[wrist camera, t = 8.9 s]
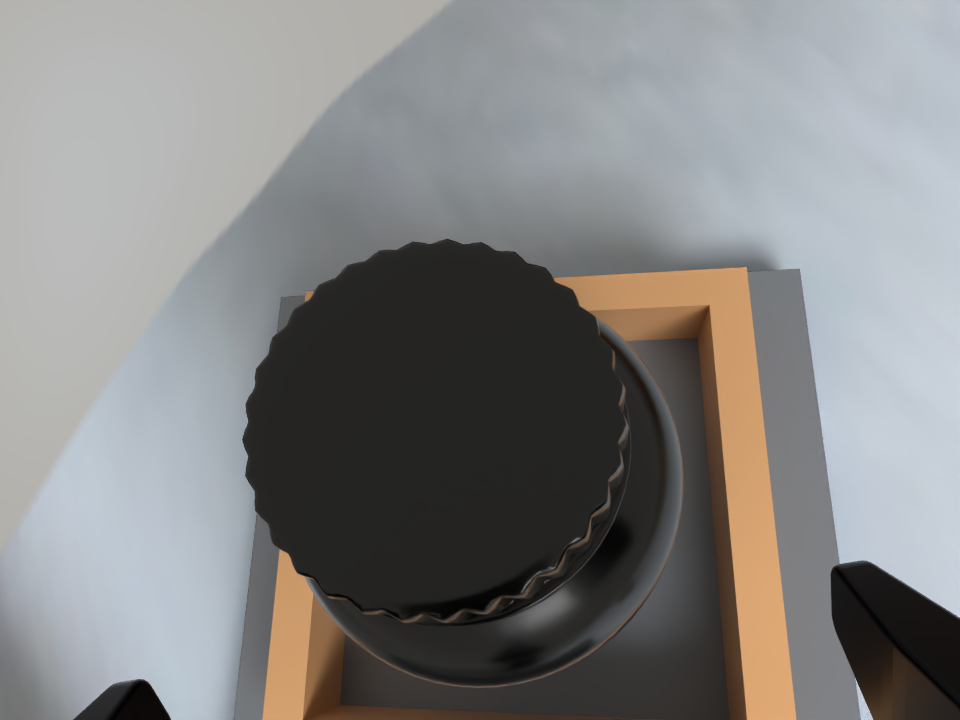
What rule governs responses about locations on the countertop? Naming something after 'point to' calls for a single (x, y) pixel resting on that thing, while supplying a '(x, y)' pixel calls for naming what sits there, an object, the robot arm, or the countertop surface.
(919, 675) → the robot arm
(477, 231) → the countertop surface
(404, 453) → the supplement bottle
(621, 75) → the countertop surface
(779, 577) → the housing
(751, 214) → the countertop surface
